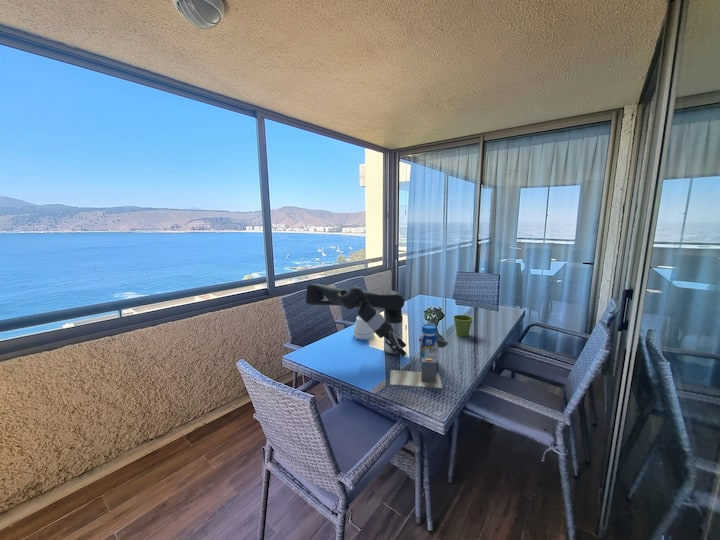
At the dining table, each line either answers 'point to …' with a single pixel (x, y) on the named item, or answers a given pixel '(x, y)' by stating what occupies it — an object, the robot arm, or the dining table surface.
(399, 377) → the board
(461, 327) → the plant pot
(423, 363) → the plug housing
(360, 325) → the honey pot
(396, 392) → the dining table surface
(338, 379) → the dining table surface
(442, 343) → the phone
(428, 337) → the beverage bottle
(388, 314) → the robot arm
